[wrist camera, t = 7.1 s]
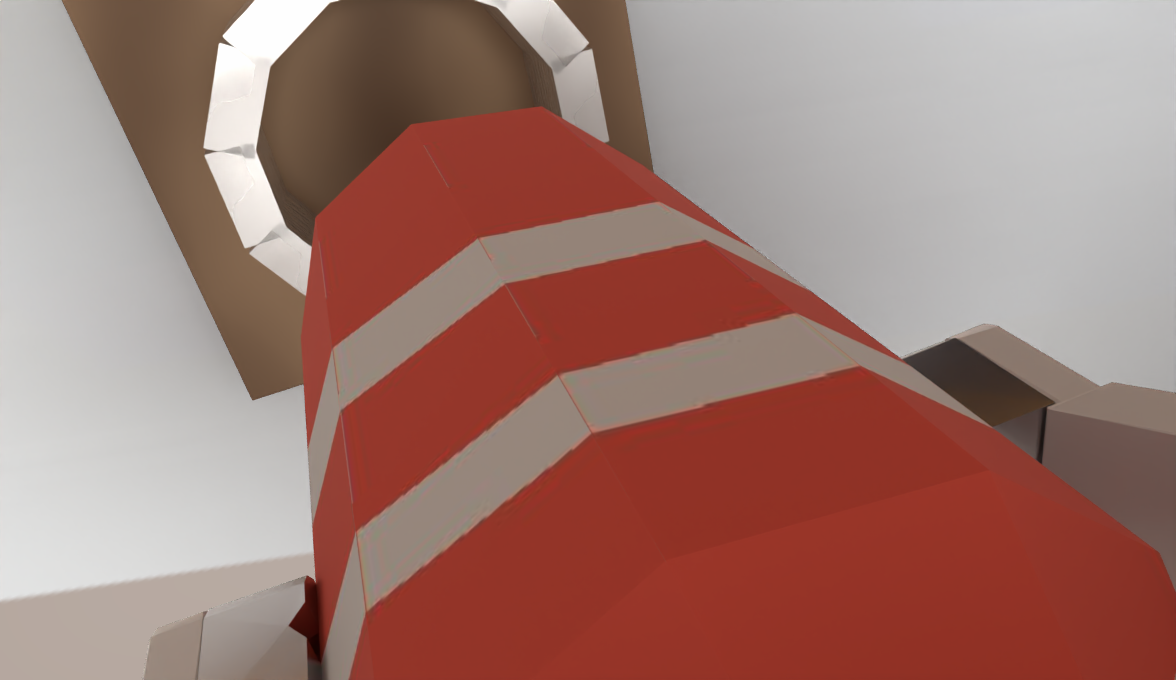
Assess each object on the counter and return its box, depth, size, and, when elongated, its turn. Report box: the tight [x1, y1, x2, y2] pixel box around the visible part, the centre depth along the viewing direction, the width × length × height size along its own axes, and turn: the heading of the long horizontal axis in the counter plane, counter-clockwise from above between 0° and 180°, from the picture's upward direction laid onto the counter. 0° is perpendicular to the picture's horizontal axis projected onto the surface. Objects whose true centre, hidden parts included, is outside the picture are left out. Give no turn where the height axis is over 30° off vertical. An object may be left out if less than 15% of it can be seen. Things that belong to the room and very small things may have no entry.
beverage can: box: [301, 106, 1176, 680], centre depth 10 cm, size 6×6×12 cm
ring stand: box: [62, 0, 654, 400], centre depth 27 cm, size 15×15×1 cm
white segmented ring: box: [203, 0, 609, 296], centre depth 25 cm, size 10×10×4 cm
